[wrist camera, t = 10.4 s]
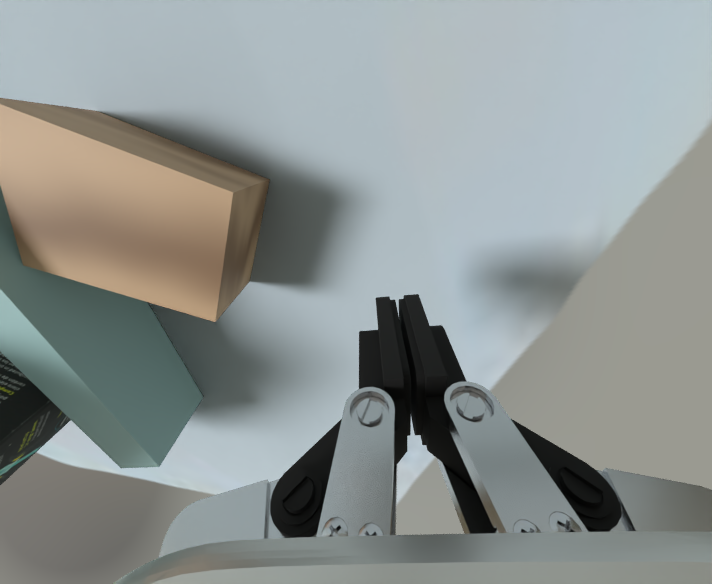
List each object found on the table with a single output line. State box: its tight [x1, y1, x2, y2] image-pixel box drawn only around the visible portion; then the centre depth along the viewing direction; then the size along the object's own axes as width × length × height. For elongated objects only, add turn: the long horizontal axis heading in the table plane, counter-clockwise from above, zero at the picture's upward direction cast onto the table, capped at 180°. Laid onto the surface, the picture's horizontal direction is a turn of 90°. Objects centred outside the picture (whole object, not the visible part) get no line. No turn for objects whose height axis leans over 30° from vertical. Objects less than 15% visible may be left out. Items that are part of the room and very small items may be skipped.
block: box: [0, 98, 270, 322], centre depth 14 cm, size 7×9×5 cm
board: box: [0, 186, 203, 468], centre depth 17 cm, size 20×3×6 cm, turn 6°
